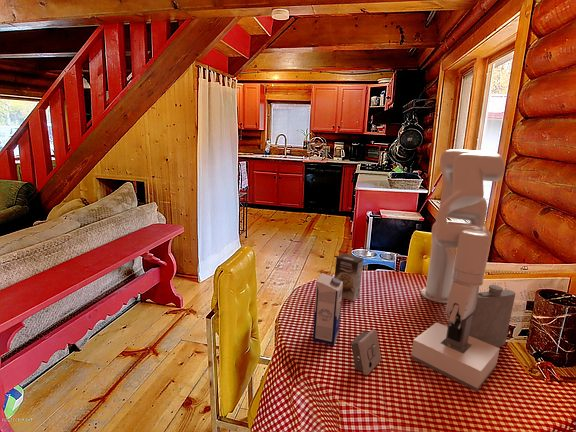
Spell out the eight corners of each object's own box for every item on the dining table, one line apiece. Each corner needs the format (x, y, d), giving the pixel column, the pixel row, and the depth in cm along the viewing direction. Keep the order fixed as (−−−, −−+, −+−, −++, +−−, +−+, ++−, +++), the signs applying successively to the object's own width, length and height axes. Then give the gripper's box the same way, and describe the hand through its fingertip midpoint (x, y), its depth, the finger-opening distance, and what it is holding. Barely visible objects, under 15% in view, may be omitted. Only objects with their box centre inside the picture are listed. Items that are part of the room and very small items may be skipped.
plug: (451, 340, 103) (456, 308, 101) (466, 347, 100) (472, 314, 98) (444, 345, 100) (450, 313, 98) (460, 353, 97) (466, 319, 95)
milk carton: (318, 329, 116) (322, 272, 111) (338, 333, 113) (343, 275, 109) (312, 340, 109) (316, 280, 104) (333, 345, 107) (338, 284, 102)
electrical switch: (366, 377, 94) (366, 345, 92) (349, 370, 97) (349, 339, 95) (381, 361, 101) (381, 330, 99) (364, 355, 104) (365, 325, 102)
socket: (433, 339, 113) (436, 322, 111) (495, 367, 100) (499, 348, 99) (410, 358, 103) (413, 339, 101) (476, 391, 90) (480, 371, 89)
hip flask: (499, 339, 115) (510, 281, 110) (509, 346, 111) (522, 287, 106) (458, 345, 110) (468, 285, 106) (467, 352, 106) (479, 291, 102)
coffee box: (332, 295, 140) (335, 257, 137) (339, 289, 146) (342, 252, 142) (354, 301, 136) (357, 262, 132) (360, 295, 141) (363, 257, 137)
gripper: (465, 264, 104) (455, 321, 108) (440, 278, 92) (431, 341, 96) (493, 272, 98) (482, 331, 102) (470, 288, 87) (459, 354, 91)
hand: (457, 335), depth 99 cm, fingers closed on plug, 4 cm apart
